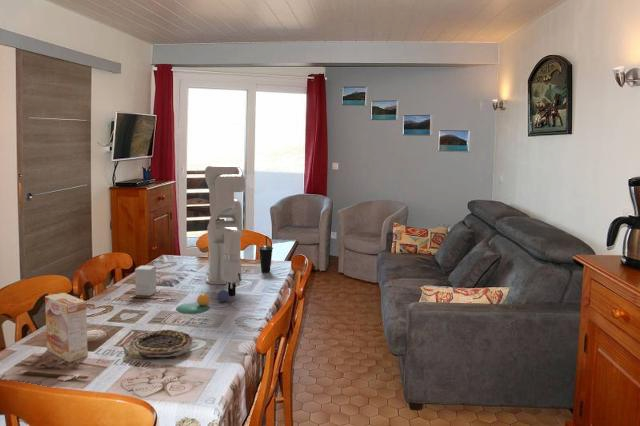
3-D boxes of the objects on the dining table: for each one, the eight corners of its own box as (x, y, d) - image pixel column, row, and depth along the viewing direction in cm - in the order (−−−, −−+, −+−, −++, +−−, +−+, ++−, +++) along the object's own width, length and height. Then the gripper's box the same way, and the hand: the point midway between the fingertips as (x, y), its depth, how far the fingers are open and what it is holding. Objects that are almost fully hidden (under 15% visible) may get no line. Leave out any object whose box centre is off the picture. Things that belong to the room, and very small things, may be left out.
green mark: (170, 307, 239) (170, 307, 239) (197, 301, 249) (197, 301, 249) (188, 315, 230) (188, 315, 230) (215, 308, 240) (215, 308, 240)
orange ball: (205, 302, 247) (195, 305, 244) (204, 290, 246) (194, 294, 242) (212, 305, 244) (202, 308, 240) (211, 293, 243) (201, 296, 239)
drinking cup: (266, 274, 301) (266, 238, 298) (255, 271, 305) (256, 236, 302) (275, 271, 307) (276, 236, 304) (265, 269, 311) (265, 234, 309)
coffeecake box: (46, 350, 190) (43, 296, 187) (66, 344, 196) (64, 291, 193) (68, 362, 181) (66, 305, 178) (88, 356, 186) (87, 300, 184)
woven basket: (172, 331, 213) (172, 319, 212) (218, 352, 196) (218, 338, 195) (104, 352, 191) (104, 339, 190) (149, 377, 174) (149, 362, 173)
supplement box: (156, 291, 262) (156, 265, 261) (150, 296, 255) (149, 269, 253) (141, 290, 263) (141, 265, 261) (135, 295, 256) (134, 268, 254)
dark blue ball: (224, 288, 253) (221, 299, 253) (216, 288, 248) (213, 299, 249) (233, 292, 250) (229, 303, 250) (225, 292, 245) (221, 304, 246)
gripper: (215, 255, 254) (215, 293, 257) (235, 261, 244) (235, 301, 247) (228, 253, 260) (228, 290, 262) (248, 258, 249) (248, 298, 252)
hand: (231, 295), depth 254 cm, fingers closed
